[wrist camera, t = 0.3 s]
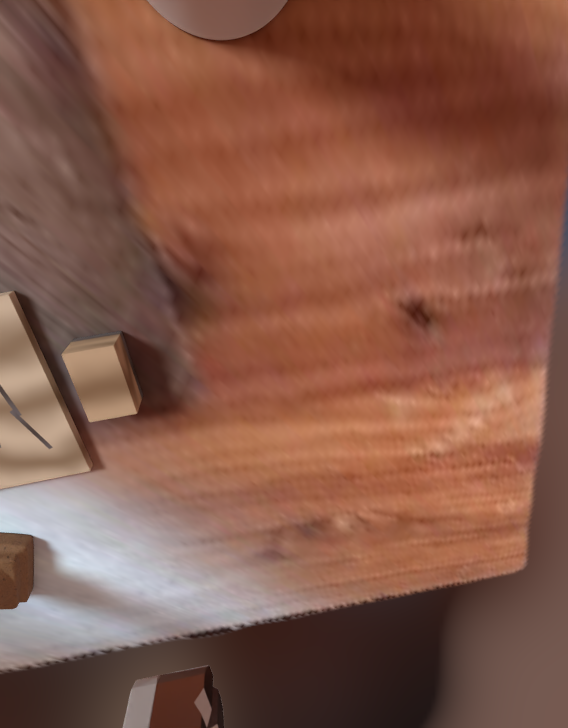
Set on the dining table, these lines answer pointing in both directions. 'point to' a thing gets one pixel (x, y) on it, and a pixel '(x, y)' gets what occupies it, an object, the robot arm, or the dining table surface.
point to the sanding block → (103, 376)
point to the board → (32, 409)
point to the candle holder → (15, 569)
